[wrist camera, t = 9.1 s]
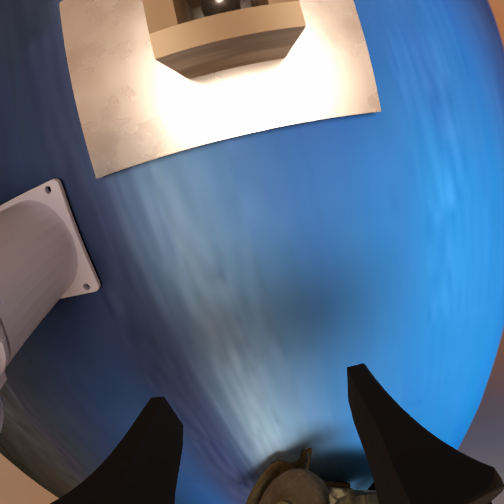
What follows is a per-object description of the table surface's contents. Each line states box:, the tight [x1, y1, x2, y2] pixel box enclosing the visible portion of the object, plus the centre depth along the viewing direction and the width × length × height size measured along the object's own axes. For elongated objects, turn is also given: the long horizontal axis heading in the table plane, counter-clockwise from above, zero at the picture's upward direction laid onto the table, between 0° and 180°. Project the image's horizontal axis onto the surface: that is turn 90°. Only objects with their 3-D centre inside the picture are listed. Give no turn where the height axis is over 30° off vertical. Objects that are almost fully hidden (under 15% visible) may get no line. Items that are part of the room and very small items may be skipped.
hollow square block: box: [142, 0, 306, 79], centre depth 10 cm, size 5×5×6 cm
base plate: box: [59, 0, 381, 179], centre depth 11 cm, size 16×12×5 cm
